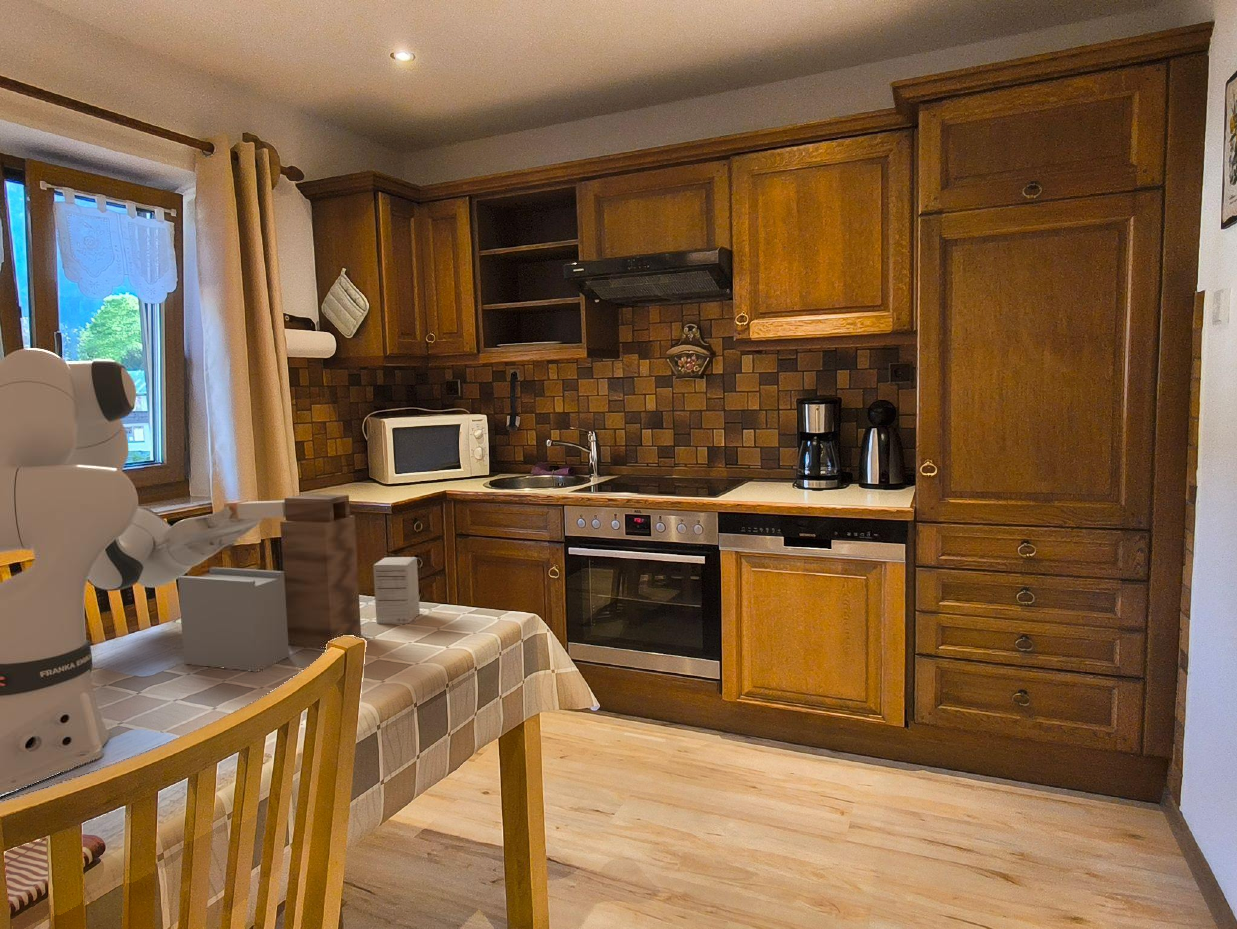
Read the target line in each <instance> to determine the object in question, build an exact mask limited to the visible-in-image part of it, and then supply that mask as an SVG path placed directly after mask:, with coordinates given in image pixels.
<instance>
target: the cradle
mask: <svg viewBox="0 0 1237 929" xmlns="http://www.w3.org/2000/svg"><path fill="white" fill-rule="evenodd" d="M208 570H209V573H207V574H206V573H205V574H203V575H200V576H193V575H191V576H190V575H182V576H180V577H178V579H177V584H178V596H179V599H178V600H179V608H180V611H179V613H180V625H181V634H182V635H181V637H182V650H183V663H184V665H187V664H192V665H191V666H196V665H197V666H199V667H205V666H211V667H210V668H214V667H224V668H230V669H229V670H232V669H239V670H238V671H241V670H248V671H247V672H250V671H255V672H254V673H258V672H259V671H258V670H261V669H263V668H265V667H267V668H269V667H271V666H273V665H275V664H276V663H275V662H277V663H279V662H281V660H282V661H284V660H286V659H288V658H290V649H289V646H290V645H288V629H287V614H286V598H285V582H284V571H283V570H268V569H267V570H266V569H254V568H252V569H251V568H235V567H222V566H221V567H219V566H211V567H209V568H208ZM287 657H288V658H287ZM285 658H286V659H285ZM283 659H284V660H283ZM278 661H279V662H278ZM274 663H275V664H274ZM272 664H273V665H272ZM270 665H271V666H270ZM268 666H269V667H268ZM265 669H266V668H265ZM249 670H250V671H249ZM263 670H264V669H263ZM257 671H258V672H257ZM261 671H262V670H261Z"/></svg>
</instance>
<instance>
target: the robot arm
mask: <svg viewBox="0 0 1237 929" xmlns="http://www.w3.org/2000/svg"><path fill="white" fill-rule="evenodd" d="M136 398H137V390H136V385H135V382H134V379H133V377H132V376H131V375H130V373H129V372H128V371H127V369H126V367H125V366H124V365H123V364H121V363H120V362H118V361H116V360H113V359H106V358H105V359H104V358H94V359H93V360H92V361H91V360H83V361H82V360H79V361H77V360H76V361H66V360H64V359H63V358H62V357H61V356H59V355H57V354H55V353H54V352H52V351H50V350H46V349H41V348H22V349H19V350H18V349H17V350H15V351H12V352H11V353H8V354H7V355H6V356H4V358H3V359H1V361H0V553H2V552H12V551H22V550H23V551H24V550H26V551H32V552H33V553H34V554H33V557H34V559H33V563H32V565H31V566H30V567H28V568H26V569H25V570H23V571H20V572H19V573H17V574H15V575H13V576H11V577H9V578H7V579H5V580H3V581H1V582H0V795H2V794H5V793H6V792H11V791H15V790H16V789H20V788H23V787H25V786H28V785H29V784H33V783H35V782H37V781H41V780H44V779H45V778H47V777H50V776H52V775H55V774H57V773H59V772H63V771H66V772H68V771H69V770H68V769H71V768H73V769H75V768H74V767H76V766H78V767H80V766H79V765H81V766H83V765H85V764H84V763H86V764H88V763H91V762H93V761H95V759H96V760H98V759H100V758H101V757H103V755H104V749H103V747H104V746H105V744H106V743H107V742H108V741H109V738H110V733H109V731H108V729H107V727H106V725H105V723H104V721H103V718H102V716H101V713H100V709H99V706H98V703H97V700H96V699H97V698H96V696H95V691H94V687H93V682H92V675H91V673H92V667H93V656H92V654H93V653H92V647H91V642H90V641H89V640H88V639H87V635H86V634H87V633H86V621H85V620H86V619H85V618H86V617H85V615H86V614H85V611H86V610H85V603H86V602H85V601H86V600H85V598H86V597H85V596H86V587H87V583H89V584H90V585H91V586H92V587H95V588H96V589H98V590H101V591H107V592H111V591H112V592H113V591H121V590H124V589H127V588H130V587H133V586H134V585H135V586H136V584H137V585H140V586H141V587H145V588H159V587H164V586H165V585H168V584H170V583H172V582H174V581H176V580H178V577H180V576H185V575H186V574H187V573H188V572H189V571H190V570H191V569H192V568H193V567H196V566H198V565H201V563H203V562H204V561H205V560H208V558H211V557H213V556H214V555H216V554H217V553H219V552H221V551H223V550H226V549H229V548H231V547H234V545H236V544H237V543H238V542H239V539H240V538H242V537H244V536H245V535H247V534H248V533H249V532H251V531H252V530H253V529H254V528H256V527H257V526H258V525H260V523H261V522H262V519H263V518H249V519H227V518H230V517H232V516H233V515H235V511H234V510H233V507H226V508H223V509H221V510H219V511H217V512H215V513H209V514H206V515H201V516H200V515H199V516H195V517H189V518H184V519H182V520H179V521H177V522H176V523H173V525H171V524H169V523H168V521H166V520H165V519H164V518H163V516H161V515H159V514H158V513H156V512H155V511H153V510H151V509H150V508H148V507H144V506H139V496H138V493H137V490H136V487H135V484H134V483H133V482H132V481H133V480H131V479H130V477H128V475H127V474H126V473H124V472H123V470H124V467H125V465H126V463H127V461H128V458H129V441H128V436H127V435H128V434H127V431H126V429H125V426H124V423H123V422H122V419H124V418H126V417H128V416H129V415H130V414H131V413H132V412H133V410H134V409H135V406H136V405H135V403H136ZM92 760H93V761H92ZM90 761H91V762H90ZM87 762H88V763H87ZM82 764H83V765H82ZM76 768H77V767H76ZM67 770H68V771H67ZM71 770H72V769H71ZM63 773H64V772H63ZM44 781H45V780H44ZM41 782H42V781H41Z"/></svg>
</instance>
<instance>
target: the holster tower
mask: <svg viewBox="0 0 1237 929" xmlns="http://www.w3.org/2000/svg"><path fill="white" fill-rule="evenodd" d="M283 500H285V516H286V517H285V520H281V521H280V522H279V524H280V526H279V527H280V528H279V529H280V539H281V554H282V556H281V557H282V558H281V560H282V571H284V582H285V598H286V614H287V629H288V644H289V646H292V645H294V647H302V648H313V647H318V648H317V649H323V647H324V649H325V647H326V644H327V643H328V641H330V640H332V639H334V638H337V637H341V636H343V635H354V636H357V637H359V636H361V635H362V623H361V622H362V621H361V607H360V605H361V604H360V591H359V590H360V589H359V587H360V584H359V568H358V553H357V552H358V551H357V548H358V547H357V530H356V517H355V515H351V513H350V512H351V511H350V510H351V509H350V495H349V494H326V493H325V494H324V493H323V494H322V493H321V494H320V493H303V494H300V495H299V494H298V495H294V496H288V497H284V498H283ZM360 634H361V635H360ZM321 647H322V648H321ZM325 650H326V649H325Z"/></svg>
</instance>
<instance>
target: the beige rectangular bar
mask: <svg viewBox="0 0 1237 929" xmlns="http://www.w3.org/2000/svg"><path fill="white" fill-rule="evenodd" d="M223 507H224V508H226V507H233V510H234V511H235V515H233V516H232V517H230V518H227V519H249V518H262V519H277V518H278V519H281V518H282V519H283V518H286V516H285V500H284V499H282V500H256V501H255V500H253V501H252V500H251V501H249V500H234V501H229V502H228V501H227V502H223ZM224 508H223V509H224Z"/></svg>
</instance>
